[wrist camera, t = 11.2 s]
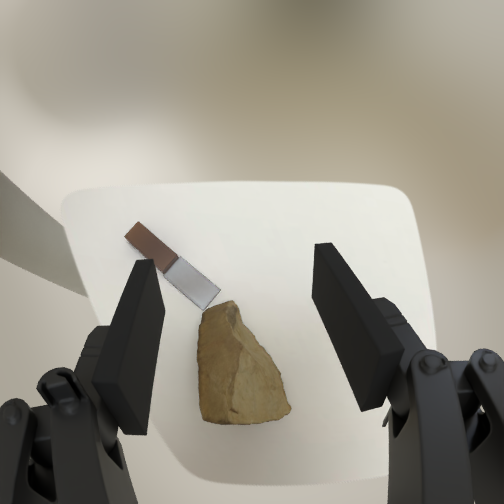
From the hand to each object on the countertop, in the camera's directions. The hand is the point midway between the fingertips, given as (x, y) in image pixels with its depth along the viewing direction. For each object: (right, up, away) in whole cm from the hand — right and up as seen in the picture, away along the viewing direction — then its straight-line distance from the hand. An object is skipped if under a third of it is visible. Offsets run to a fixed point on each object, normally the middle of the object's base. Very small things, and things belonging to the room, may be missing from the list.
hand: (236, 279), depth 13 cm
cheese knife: (-7, 0, +15) cm, 16 cm away
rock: (0, -8, +13) cm, 15 cm away
